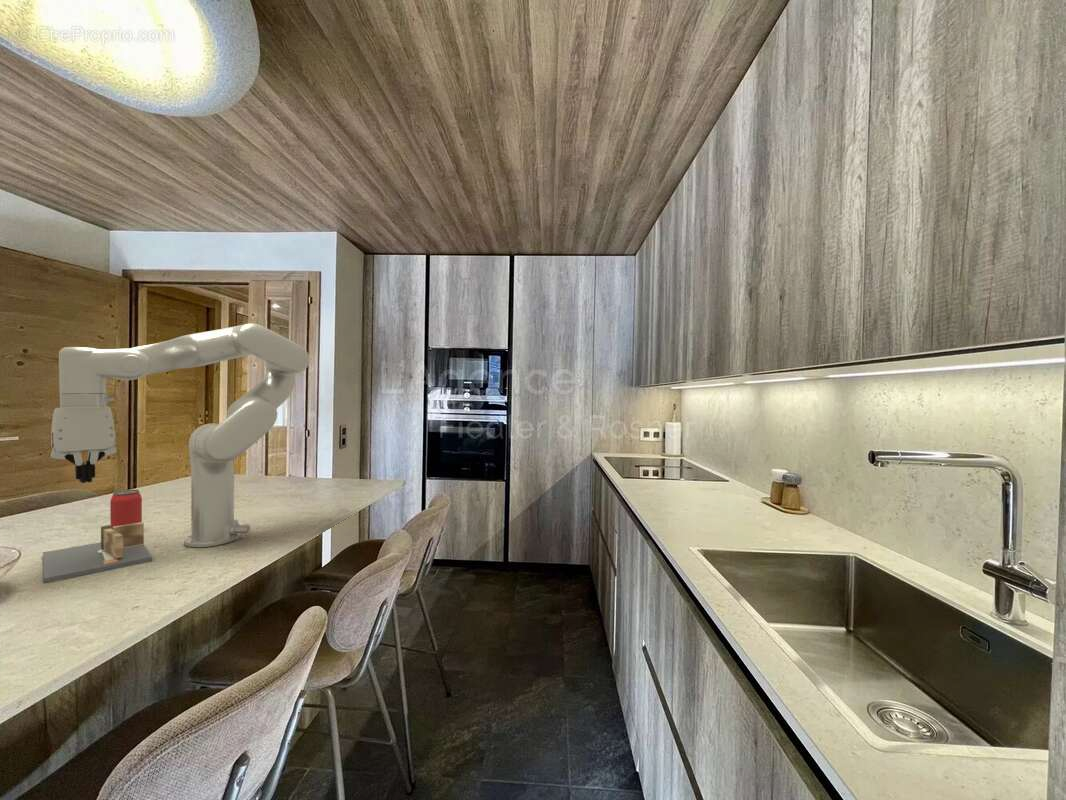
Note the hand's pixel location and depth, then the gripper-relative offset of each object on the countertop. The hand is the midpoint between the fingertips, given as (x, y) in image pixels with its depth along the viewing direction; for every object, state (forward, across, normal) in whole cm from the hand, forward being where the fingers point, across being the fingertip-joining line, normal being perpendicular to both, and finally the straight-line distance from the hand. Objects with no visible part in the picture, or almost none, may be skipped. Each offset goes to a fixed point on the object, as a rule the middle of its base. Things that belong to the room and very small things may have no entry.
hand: (85, 481), depth 104 cm
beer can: (+20, -12, -23) cm, 32 cm away
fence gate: (+18, -5, -1) cm, 19 cm away
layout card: (+20, -2, -4) cm, 20 cm away
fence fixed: (+19, -9, -6) cm, 21 cm away
